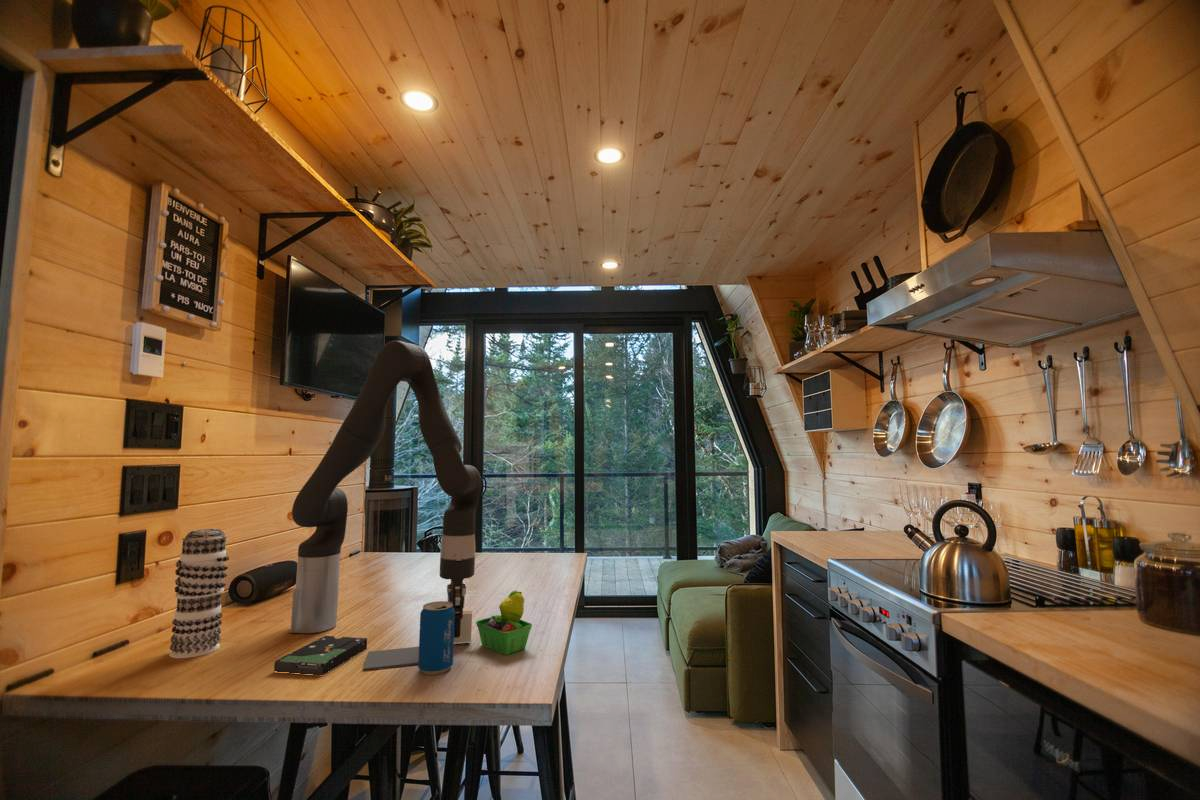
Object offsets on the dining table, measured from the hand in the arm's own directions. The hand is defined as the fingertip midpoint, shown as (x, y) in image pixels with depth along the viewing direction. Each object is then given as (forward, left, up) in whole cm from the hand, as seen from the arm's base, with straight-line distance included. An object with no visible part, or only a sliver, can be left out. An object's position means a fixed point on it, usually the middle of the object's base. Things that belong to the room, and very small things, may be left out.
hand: (454, 635), depth 114 cm
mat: (-12, -5, -2) cm, 13 cm away
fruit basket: (+11, -5, -2) cm, 12 cm away
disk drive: (-26, -1, -3) cm, 26 cm away
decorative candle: (-52, +13, -2) cm, 54 cm away
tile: (0, 0, -1) cm, 1 cm away
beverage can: (-4, -13, -2) cm, 14 cm away
